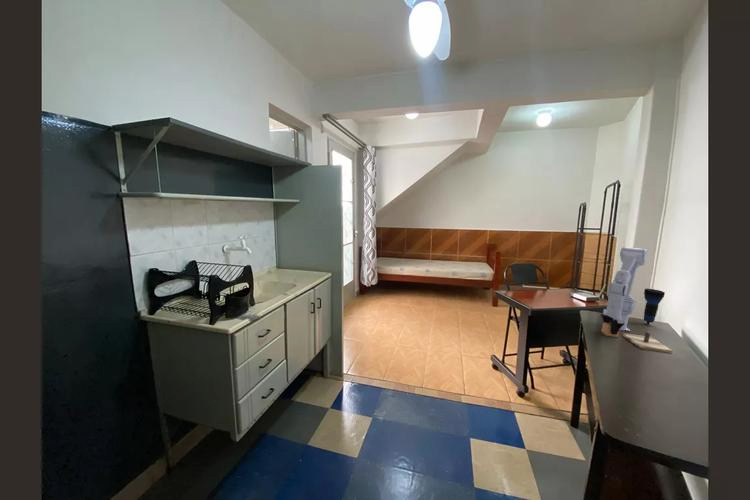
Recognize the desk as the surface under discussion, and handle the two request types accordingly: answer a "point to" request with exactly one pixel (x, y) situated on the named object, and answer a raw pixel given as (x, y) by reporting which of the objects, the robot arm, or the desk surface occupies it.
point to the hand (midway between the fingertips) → (610, 331)
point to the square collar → (608, 330)
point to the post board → (647, 342)
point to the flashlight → (652, 303)
